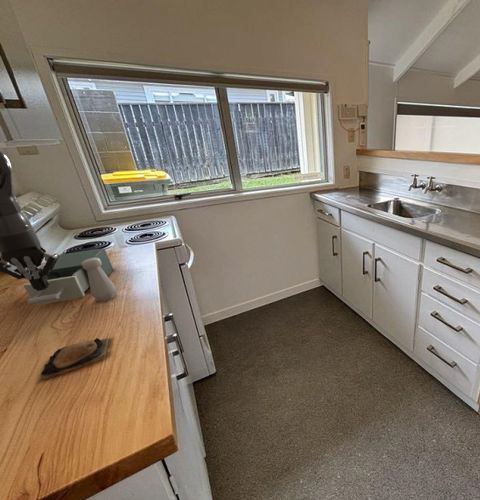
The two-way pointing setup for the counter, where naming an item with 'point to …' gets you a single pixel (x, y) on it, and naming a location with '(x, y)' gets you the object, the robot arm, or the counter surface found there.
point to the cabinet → (77, 258)
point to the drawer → (60, 287)
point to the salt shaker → (98, 280)
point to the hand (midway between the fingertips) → (42, 289)
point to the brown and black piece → (75, 357)
